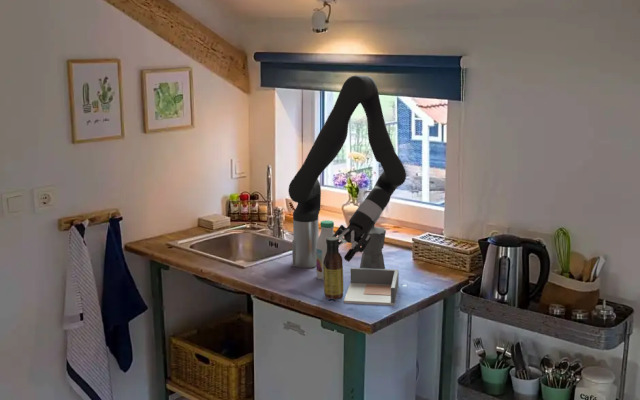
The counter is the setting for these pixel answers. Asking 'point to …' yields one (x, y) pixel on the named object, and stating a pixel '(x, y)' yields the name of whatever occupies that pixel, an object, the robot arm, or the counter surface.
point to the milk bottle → (323, 246)
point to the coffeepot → (374, 250)
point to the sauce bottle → (333, 270)
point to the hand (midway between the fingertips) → (338, 256)
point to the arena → (373, 286)
